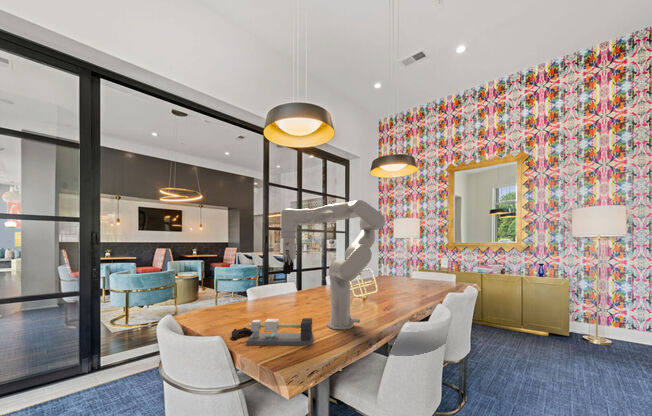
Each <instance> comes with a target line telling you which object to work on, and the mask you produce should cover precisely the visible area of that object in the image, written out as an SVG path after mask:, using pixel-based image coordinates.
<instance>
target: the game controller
mask: <svg viewBox="0 0 652 416" xmlns="http://www.w3.org/2000/svg"><path fill="white" fill-rule="evenodd" d="M252 334H253V331H251V328H247V327H243V328H239V329H237V328H234V329H233V330H232V332H231V338H232V340H233V341H238V337H239V335H248V336H249V337H250V336H251V335H252Z"/></svg>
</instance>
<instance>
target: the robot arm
mask: <svg viewBox="0 0 652 416" xmlns="http://www.w3.org/2000/svg"><path fill="white" fill-rule="evenodd" d="M280 216H281V217H280V218H281V220H280V222H281V223H280V239H282V260H283V265H282V267H283V268H282V270H283V271H282V273H283V275H291V273H293V272H294V270H295V269H294V267H295V265H294V260H296V259H297V254H296V253H297V252H296V251H297V250H296V249H297V247H296V245H297V244H296V243H297V242H296V239H298V226H308V225H314V224H319V223H331V222H337V221H341V220H349V219H354V218H355V219H356V218H360V220H359V229H360V231H359V234H358V236H357V237H356V238H355V240H354V241H353V242H351V244H350V245H348V247H347V248H346V249H345V251H344V257H345V259H338V258H337V259H335V260H333V261H332V262H331V263H330V264H329V267H328V268H329V269H328V275H329V281H330V320H329V321H328V322H327V327H328V328H330V329H331V330H332V329H333V330H340V331H341V330H349V329H352V328H353V327H354V324H355V323H356V324H358V323H361V319H360V318H357V317H352V315H351V285H350V284H351V283H350V282H352V281H353V280H355V279H356V278H357V277H358V276H359V275H360V274H362V272H363V271H364V270H365V268H366V267H367V265H368V264H369V263H370V262H371V259H372V256H373V255H372V250H371V247H372V246H373V245H374V244H375V240H376V231H378V230H381V229H382V228H384V226H385V224H386V219H385V216H384V215H383V214H382V213H381V212H380V211H379V210H377V209H376V208H374V207H373V206H372V205H370V204H369V203H368V202H367V201H364V200H361V199H355V200H352V201H345V202H340V203H339V202H338V203H331V204H327V205H323V206H320V207H316V208H311V209H310V208H301V209H300V208H299V209H296V208H295V209H294V208H284V209H282V210H281V214H280Z"/></svg>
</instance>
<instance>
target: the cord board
mask: <svg viewBox="0 0 652 416" xmlns="http://www.w3.org/2000/svg"><path fill="white" fill-rule="evenodd" d="M247 327H249V328H250V327H251V328H250V329H251V331H253V334H252V335H251V336H249V337H248V338H247V339H246V341H245V345H246V346H313V343H314V333H313V318H312V317H306V318H305V317H302V320H301V322H300V323H279V324H277V327H279V328H296V329H297V328H300V332H297V333H296V332H293V333H292V332H277V333H276V332H260V331H261V328H265V323H262V320H261V319H253V320H251V323H247Z"/></svg>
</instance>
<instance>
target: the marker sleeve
mask: <svg viewBox="0 0 652 416" xmlns="http://www.w3.org/2000/svg"><path fill="white" fill-rule="evenodd" d="M264 324H265V327H264V333H278V331H279V328H280V327H277V324H280V319H279V318H267V319H266V320H265V321H264Z"/></svg>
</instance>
